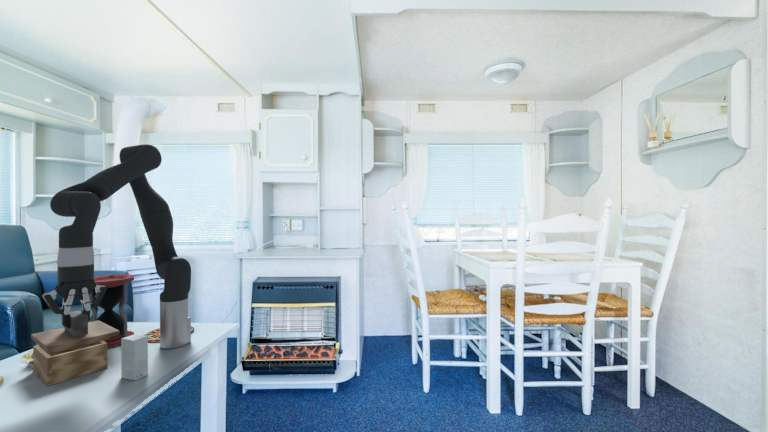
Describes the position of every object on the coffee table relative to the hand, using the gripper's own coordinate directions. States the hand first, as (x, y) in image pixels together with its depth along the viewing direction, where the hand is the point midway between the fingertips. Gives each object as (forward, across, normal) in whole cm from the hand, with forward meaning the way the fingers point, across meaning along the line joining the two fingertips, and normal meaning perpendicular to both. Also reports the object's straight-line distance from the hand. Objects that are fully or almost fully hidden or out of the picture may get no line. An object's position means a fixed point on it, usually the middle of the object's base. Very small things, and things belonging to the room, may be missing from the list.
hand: (76, 325), depth 93 cm
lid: (+3, 0, 0) cm, 3 cm away
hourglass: (+19, +19, +39) cm, 47 cm away
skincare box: (+19, +13, -2) cm, 23 cm away
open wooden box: (+19, +4, +20) cm, 28 cm away
